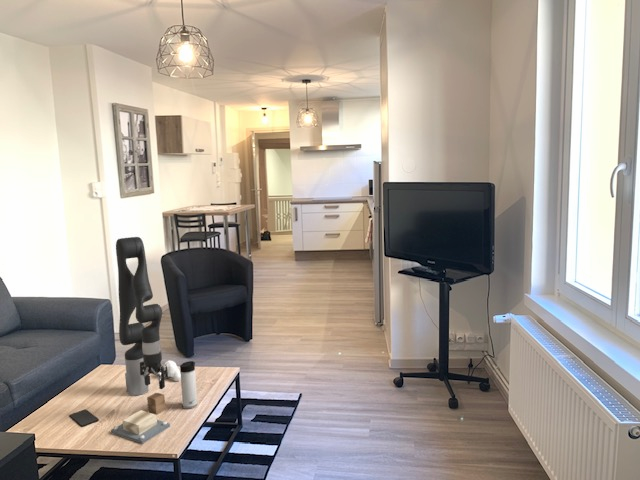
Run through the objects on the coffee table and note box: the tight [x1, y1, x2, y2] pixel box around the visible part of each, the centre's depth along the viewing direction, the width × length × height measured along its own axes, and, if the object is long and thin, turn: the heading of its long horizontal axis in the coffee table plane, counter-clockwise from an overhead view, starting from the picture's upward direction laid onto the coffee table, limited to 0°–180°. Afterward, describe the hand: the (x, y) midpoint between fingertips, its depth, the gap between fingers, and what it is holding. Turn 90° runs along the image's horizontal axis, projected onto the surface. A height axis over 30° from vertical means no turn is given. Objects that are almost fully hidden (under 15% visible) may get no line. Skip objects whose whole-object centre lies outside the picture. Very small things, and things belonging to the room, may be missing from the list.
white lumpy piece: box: [163, 360, 181, 382], centre depth 240 cm, size 6×8×12 cm
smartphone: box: [68, 409, 100, 428], centre depth 203 cm, size 7×1×15 cm
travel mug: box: [179, 360, 198, 410], centre depth 210 cm, size 6×7×20 cm
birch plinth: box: [122, 409, 158, 435], centre depth 192 cm, size 9×9×4 cm
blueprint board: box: [110, 419, 171, 445], centre depth 192 cm, size 18×14×2 cm
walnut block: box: [146, 392, 166, 416], centre depth 207 cm, size 5×5×7 cm
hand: (154, 386), depth 206 cm, fingers open, 8 cm apart
